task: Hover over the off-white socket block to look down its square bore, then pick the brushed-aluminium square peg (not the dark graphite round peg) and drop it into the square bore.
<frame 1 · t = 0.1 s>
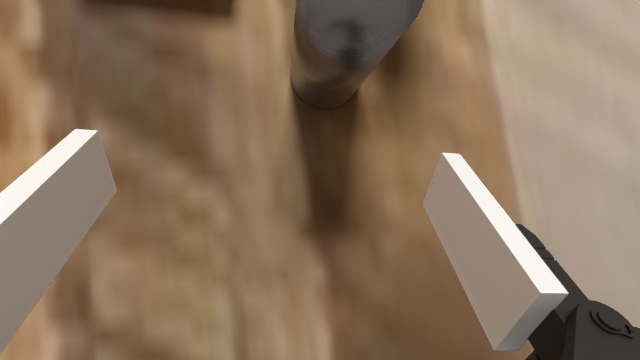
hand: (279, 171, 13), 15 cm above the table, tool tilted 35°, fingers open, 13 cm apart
round peg: (324, 75, 29), on the table
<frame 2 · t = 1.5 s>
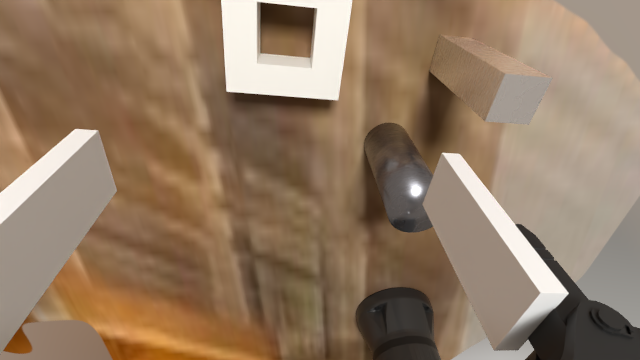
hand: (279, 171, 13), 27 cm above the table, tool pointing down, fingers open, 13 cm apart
square peg: (450, 54, 38), on the table
round peg: (386, 143, 44), on the table
socket block: (286, 28, 35), on the table
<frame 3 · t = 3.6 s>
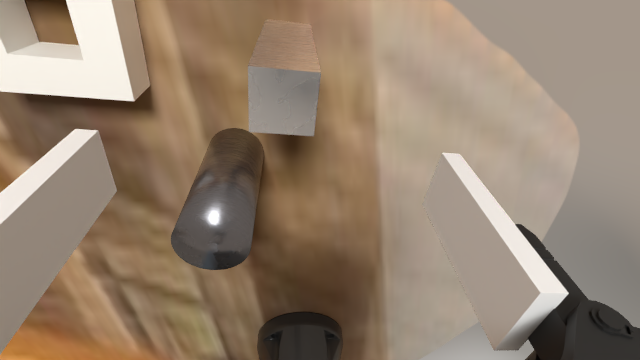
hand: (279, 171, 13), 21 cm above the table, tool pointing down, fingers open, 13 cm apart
square peg: (287, 44, 31), on the table
round peg: (236, 152, 37), on the table
socket block: (62, 10, 28), on the table
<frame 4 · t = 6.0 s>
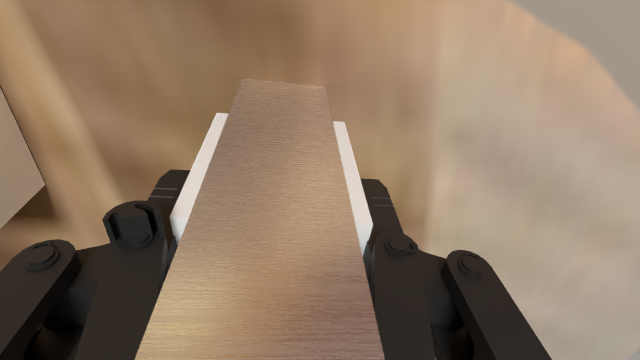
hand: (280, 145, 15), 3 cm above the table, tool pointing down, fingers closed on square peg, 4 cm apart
square peg: (282, 119, 17), on the table, touching gripper
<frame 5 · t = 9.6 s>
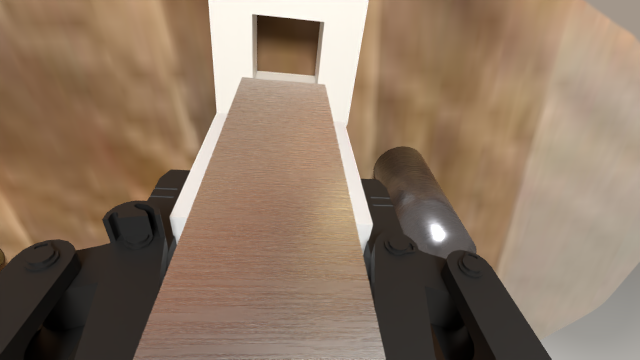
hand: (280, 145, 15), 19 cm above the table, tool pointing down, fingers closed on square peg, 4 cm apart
square peg: (282, 118, 17), point 16 cm above the table, touching gripper
round peg: (398, 168, 39), on the table
socket block: (287, 43, 30), on the table
when the fingers open (6 cm above the table, at t = 13.4 s): square peg drops 3 cm, resting in socket block.
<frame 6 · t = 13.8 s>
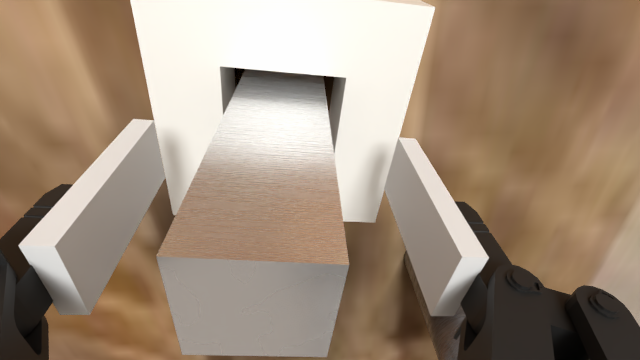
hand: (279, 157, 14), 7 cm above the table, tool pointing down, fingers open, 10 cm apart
square peg: (284, 97, 19), resting in socket block
round peg: (438, 253, 29), on the table
socket block: (283, 97, 19), on the table
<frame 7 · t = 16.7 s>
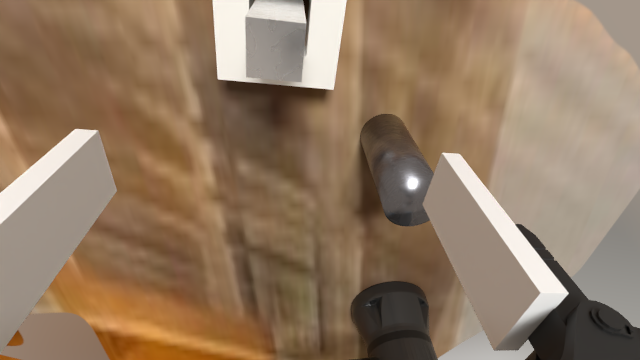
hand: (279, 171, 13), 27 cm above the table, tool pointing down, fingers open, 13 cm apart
square peg: (281, 14, 34), resting in socket block
round peg: (382, 134, 43), on the table
socket block: (280, 14, 34), on the table
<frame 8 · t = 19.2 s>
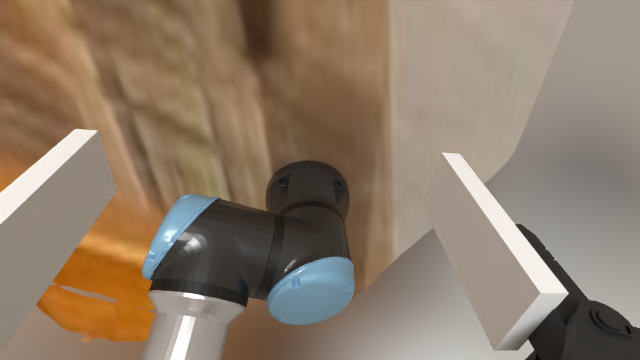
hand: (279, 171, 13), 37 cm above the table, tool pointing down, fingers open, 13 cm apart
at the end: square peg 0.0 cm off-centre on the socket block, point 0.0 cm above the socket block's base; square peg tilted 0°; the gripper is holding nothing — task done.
